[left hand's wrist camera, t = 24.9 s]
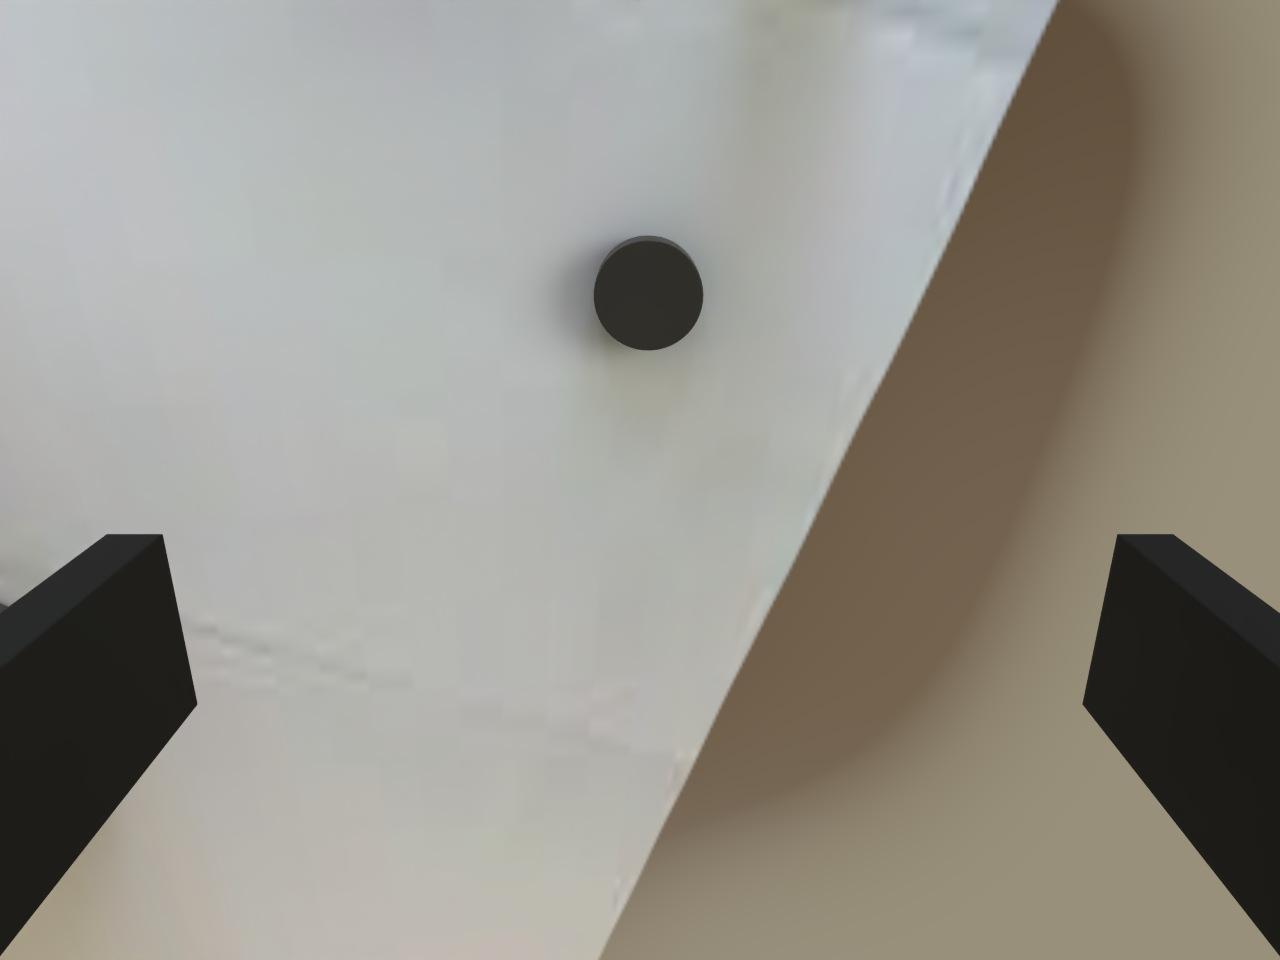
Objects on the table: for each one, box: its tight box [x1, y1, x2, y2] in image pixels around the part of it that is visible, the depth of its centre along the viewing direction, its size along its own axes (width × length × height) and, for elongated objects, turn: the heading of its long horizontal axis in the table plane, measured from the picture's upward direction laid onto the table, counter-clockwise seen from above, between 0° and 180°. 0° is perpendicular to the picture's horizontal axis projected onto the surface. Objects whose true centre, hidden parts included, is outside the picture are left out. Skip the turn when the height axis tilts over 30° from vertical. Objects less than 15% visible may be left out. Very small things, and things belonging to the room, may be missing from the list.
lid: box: [594, 236, 703, 350], centre depth 39 cm, size 5×5×2 cm
